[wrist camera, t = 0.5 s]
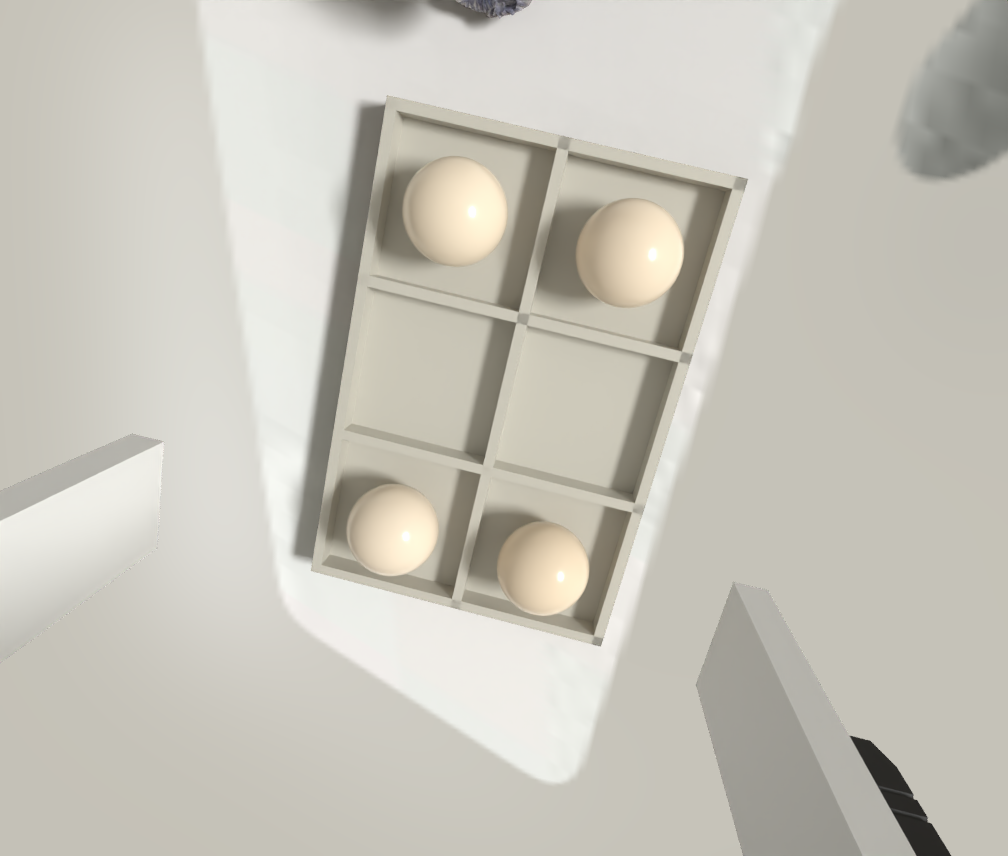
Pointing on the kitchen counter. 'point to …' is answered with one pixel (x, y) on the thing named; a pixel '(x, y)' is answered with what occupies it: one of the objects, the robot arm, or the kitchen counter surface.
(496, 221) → the egg near left
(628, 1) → the kitchen counter surface
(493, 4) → the seashell
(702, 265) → the egg tray
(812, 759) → the robot arm
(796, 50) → the kitchen counter surface
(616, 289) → the egg near right
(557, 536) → the egg far right
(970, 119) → the kitchen counter surface
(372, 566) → the egg far left
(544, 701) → the kitchen counter surface
